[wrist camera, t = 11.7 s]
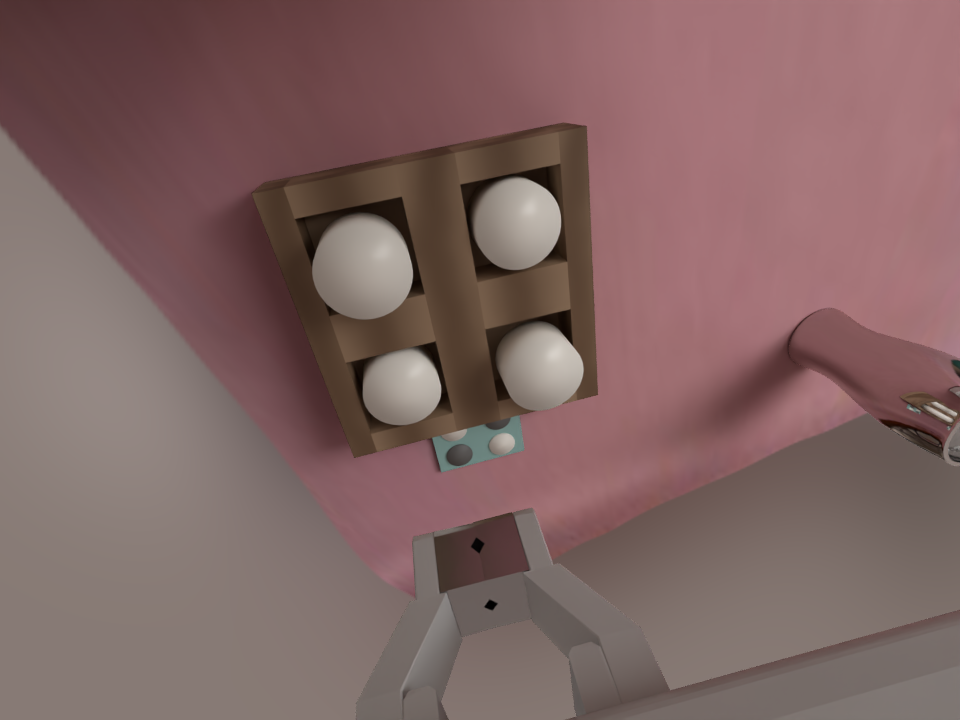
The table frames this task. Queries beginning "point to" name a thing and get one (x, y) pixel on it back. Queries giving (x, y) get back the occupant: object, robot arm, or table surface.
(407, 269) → the button
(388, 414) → the button
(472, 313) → the wooden compartment tray
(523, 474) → the table surface
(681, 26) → the table surface
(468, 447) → the card
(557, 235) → the button
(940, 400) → the beer glass
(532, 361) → the button
